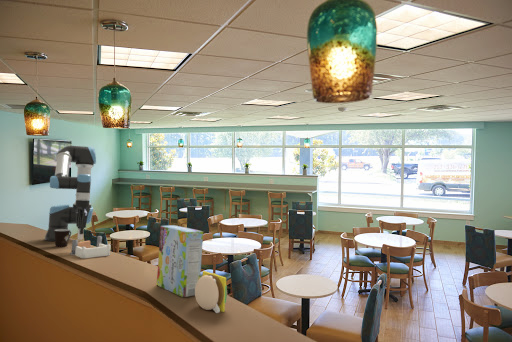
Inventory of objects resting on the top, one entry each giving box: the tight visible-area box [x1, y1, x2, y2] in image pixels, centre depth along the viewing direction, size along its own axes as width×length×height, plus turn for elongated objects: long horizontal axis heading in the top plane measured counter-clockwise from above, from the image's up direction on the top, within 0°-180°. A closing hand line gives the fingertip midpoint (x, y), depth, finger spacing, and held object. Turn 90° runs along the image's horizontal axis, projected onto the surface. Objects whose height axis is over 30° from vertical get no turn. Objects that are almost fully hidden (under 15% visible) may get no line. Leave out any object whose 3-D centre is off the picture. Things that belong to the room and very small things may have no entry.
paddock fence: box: [69, 235, 111, 259], centre depth 210 cm, size 15×17×9 cm
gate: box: [71, 239, 91, 253], centre depth 214 cm, size 13×3×7 cm, turn 164°
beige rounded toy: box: [194, 270, 228, 314], centre depth 134 cm, size 12×8×12 cm
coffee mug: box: [54, 228, 72, 248], centre depth 230 cm, size 12×9×10 cm
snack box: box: [156, 224, 204, 298], centre depth 154 cm, size 22×9×26 cm, turn 43°
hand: (80, 239), depth 220 cm, fingers closed
